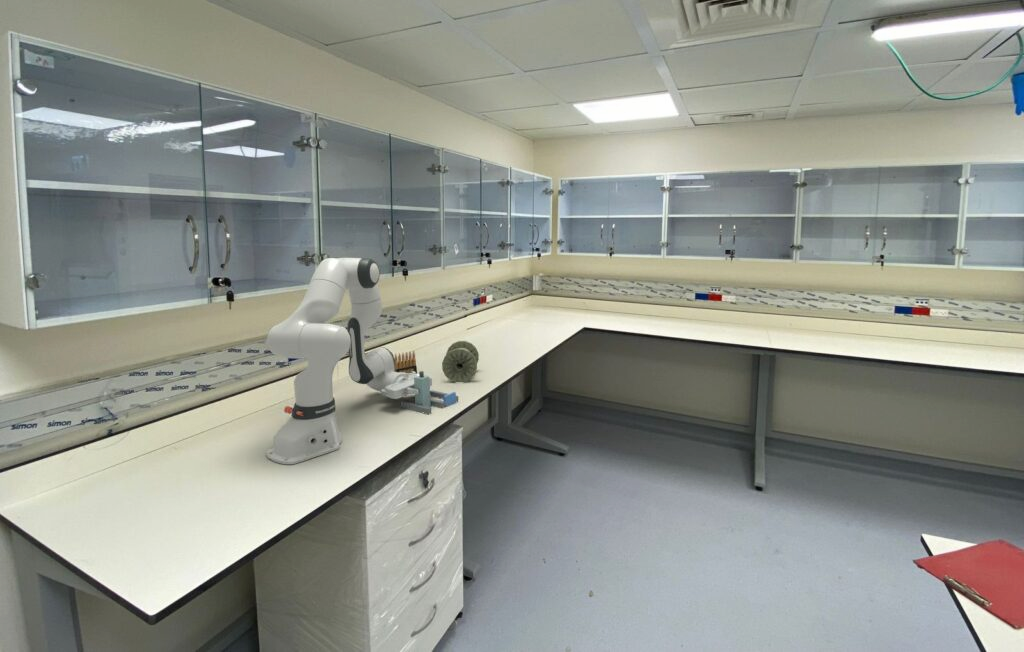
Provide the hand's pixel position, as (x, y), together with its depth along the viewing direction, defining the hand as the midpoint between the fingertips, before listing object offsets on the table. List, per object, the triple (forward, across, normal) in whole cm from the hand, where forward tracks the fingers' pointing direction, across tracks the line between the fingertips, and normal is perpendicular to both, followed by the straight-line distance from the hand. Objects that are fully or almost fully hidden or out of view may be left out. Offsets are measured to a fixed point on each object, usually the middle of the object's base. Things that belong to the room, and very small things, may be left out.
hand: (424, 389), depth 194 cm
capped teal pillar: (-1, 0, +7) cm, 7 cm away
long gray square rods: (-1, +4, +7) cm, 8 cm away
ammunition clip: (-34, +24, +7) cm, 43 cm away
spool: (-13, +38, +7) cm, 41 cm away
